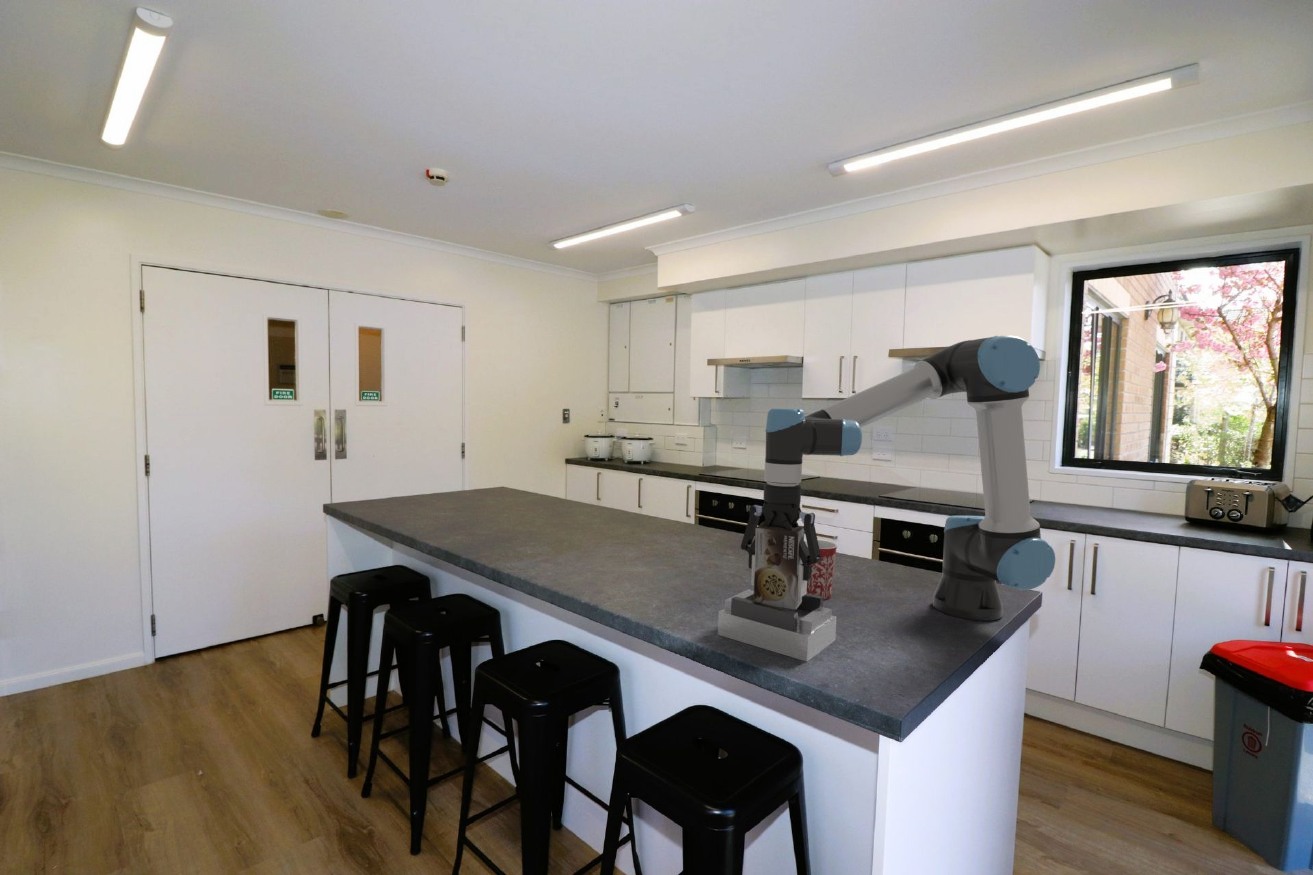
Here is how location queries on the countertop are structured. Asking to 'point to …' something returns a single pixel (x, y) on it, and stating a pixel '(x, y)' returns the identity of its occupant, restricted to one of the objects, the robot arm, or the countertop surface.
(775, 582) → the coffee box
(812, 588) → the mug
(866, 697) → the countertop surface
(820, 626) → the grey tray box
